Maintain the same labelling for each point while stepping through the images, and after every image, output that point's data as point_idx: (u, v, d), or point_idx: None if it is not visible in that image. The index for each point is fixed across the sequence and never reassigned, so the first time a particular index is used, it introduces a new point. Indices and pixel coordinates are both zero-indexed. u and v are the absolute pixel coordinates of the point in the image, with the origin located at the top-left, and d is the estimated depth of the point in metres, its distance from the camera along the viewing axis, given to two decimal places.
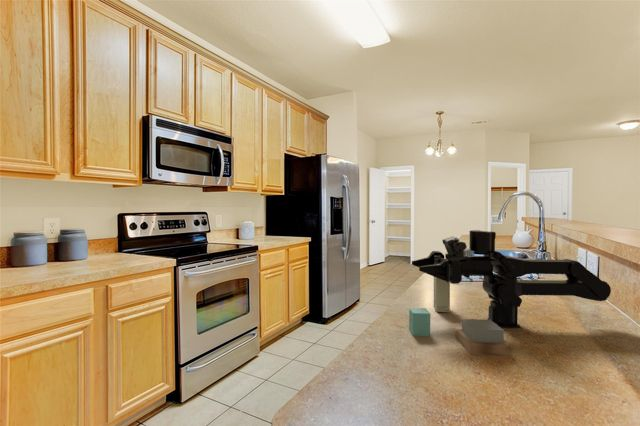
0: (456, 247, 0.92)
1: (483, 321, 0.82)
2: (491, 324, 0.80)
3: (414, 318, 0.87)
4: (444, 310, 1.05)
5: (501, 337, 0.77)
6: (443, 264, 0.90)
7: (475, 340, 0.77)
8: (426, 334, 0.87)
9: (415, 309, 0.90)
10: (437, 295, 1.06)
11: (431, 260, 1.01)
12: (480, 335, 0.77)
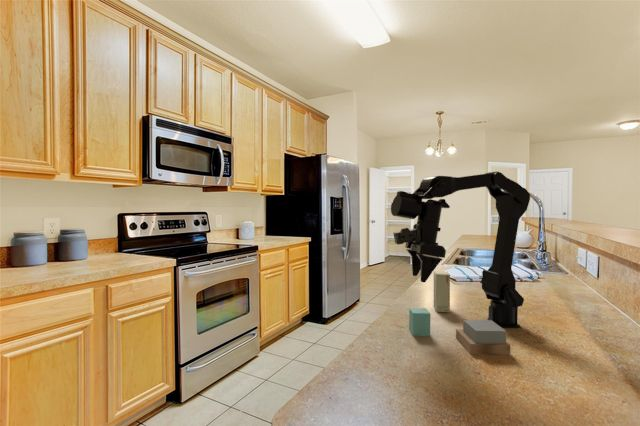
0: (406, 238, 0.86)
1: (485, 322, 0.82)
2: (493, 325, 0.80)
3: (414, 318, 0.87)
4: (444, 310, 1.05)
5: (503, 338, 0.76)
6: (422, 259, 0.83)
7: (478, 341, 0.76)
8: (426, 334, 0.87)
9: (415, 309, 0.90)
10: (437, 295, 1.06)
11: (415, 254, 0.95)
12: (482, 336, 0.76)
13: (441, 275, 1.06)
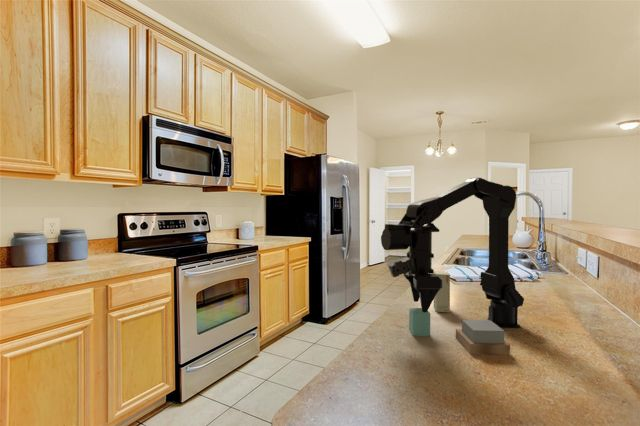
0: (400, 271, 0.85)
1: (483, 322, 0.82)
2: (491, 324, 0.80)
3: (414, 318, 0.87)
4: (444, 310, 1.05)
5: (502, 338, 0.76)
6: (420, 291, 0.82)
7: (475, 341, 0.77)
8: (426, 334, 0.87)
9: (415, 309, 0.90)
10: (437, 295, 1.06)
11: (413, 280, 0.94)
12: (480, 336, 0.77)
13: (441, 275, 1.06)
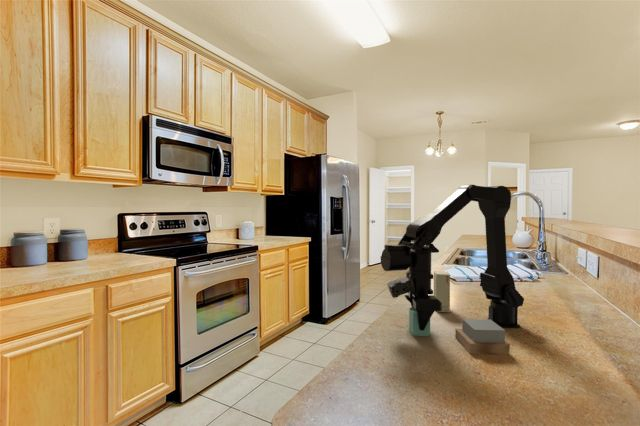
0: (400, 293, 0.85)
1: (484, 321, 0.82)
2: (492, 324, 0.80)
3: (414, 318, 0.87)
4: (444, 310, 1.05)
5: (502, 337, 0.77)
6: (417, 310, 0.85)
7: (476, 340, 0.77)
8: (426, 334, 0.87)
9: None
10: (437, 295, 1.06)
11: None
12: (481, 335, 0.77)
13: (441, 275, 1.06)
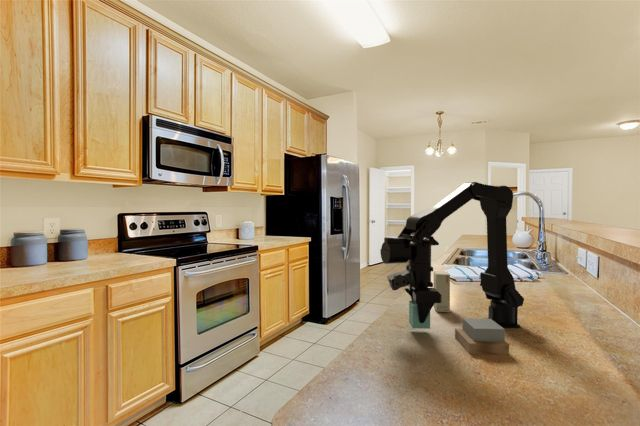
0: (400, 285, 0.85)
1: (484, 320, 0.83)
2: (492, 323, 0.81)
3: (414, 311, 0.87)
4: (444, 310, 1.05)
5: (502, 336, 0.77)
6: (417, 302, 0.85)
7: (476, 339, 0.77)
8: (426, 327, 0.87)
9: None
10: None
11: None
12: (481, 334, 0.77)
13: (441, 275, 1.06)
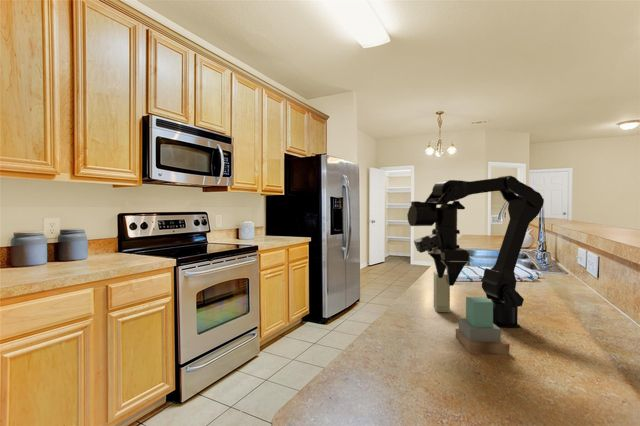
0: (428, 246, 0.88)
1: None
2: None
3: (475, 308, 0.78)
4: (444, 310, 1.05)
5: (498, 336, 0.77)
6: (447, 264, 0.86)
7: (472, 339, 0.78)
8: (488, 325, 0.78)
9: (473, 298, 0.81)
10: (437, 295, 1.06)
11: (437, 257, 0.97)
12: (477, 334, 0.78)
13: None
